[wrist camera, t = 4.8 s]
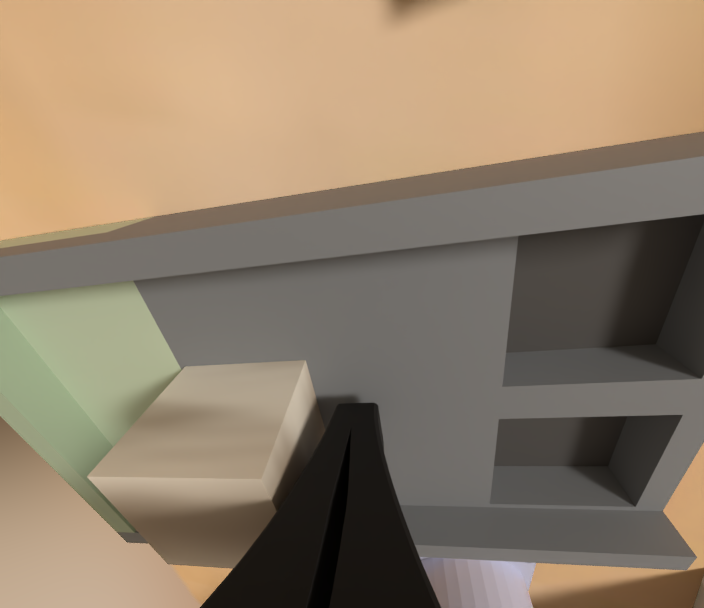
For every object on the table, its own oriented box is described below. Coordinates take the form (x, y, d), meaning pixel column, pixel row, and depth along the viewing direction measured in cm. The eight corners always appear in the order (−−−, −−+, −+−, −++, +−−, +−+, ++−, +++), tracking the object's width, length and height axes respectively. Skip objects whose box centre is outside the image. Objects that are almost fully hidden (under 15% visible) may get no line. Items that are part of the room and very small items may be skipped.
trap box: (621, 476, 14) (686, 570, 11) (171, 473, 18) (127, 542, 15) (777, 120, 7) (1057, 104, 4) (4, 239, 11) (-139, 277, 8)
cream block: (329, 447, 12) (307, 573, 9) (227, 448, 13) (167, 564, 9) (305, 360, 10) (261, 479, 6) (185, 366, 11) (86, 476, 7)
